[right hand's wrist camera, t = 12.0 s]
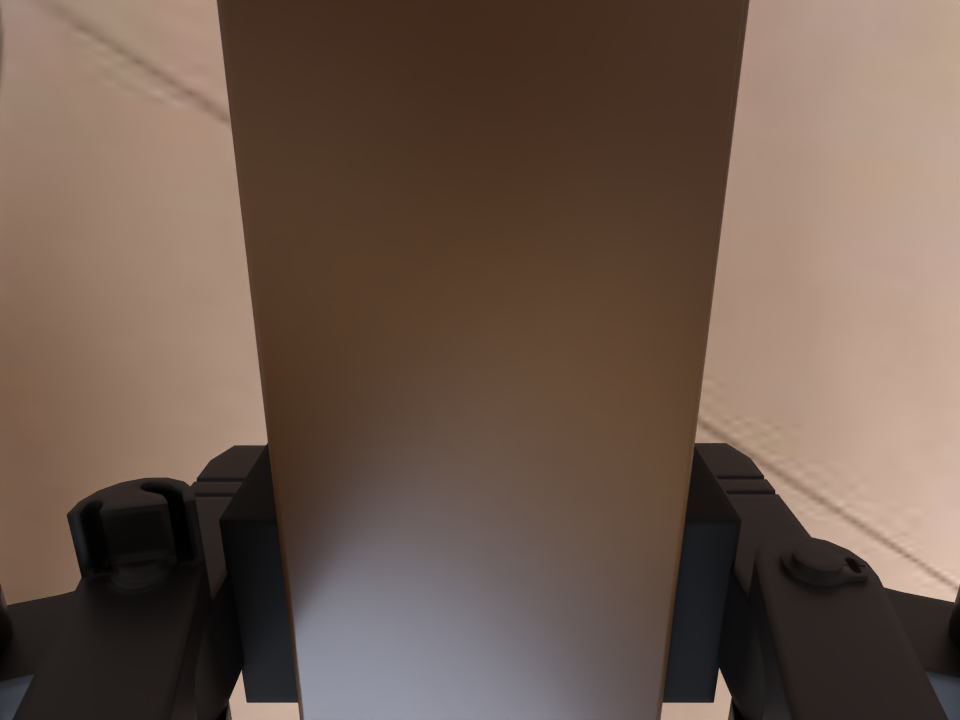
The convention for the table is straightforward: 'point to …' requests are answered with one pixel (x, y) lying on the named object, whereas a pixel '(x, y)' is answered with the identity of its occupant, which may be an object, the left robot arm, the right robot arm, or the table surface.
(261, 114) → the post
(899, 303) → the table surface
